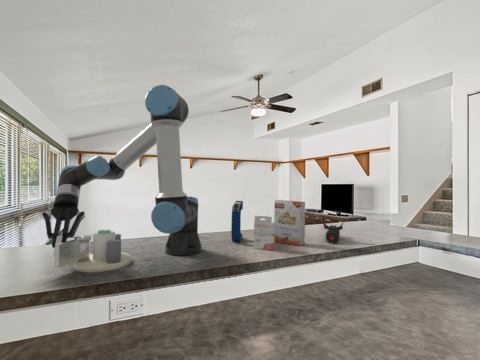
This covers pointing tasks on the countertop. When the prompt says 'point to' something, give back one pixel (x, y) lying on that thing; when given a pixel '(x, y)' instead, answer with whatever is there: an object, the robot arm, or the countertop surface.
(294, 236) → the cracker box
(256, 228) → the ink cartridge box
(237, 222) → the handheld scanner
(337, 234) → the horned monster figurine
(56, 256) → the wing knob
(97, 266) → the base
